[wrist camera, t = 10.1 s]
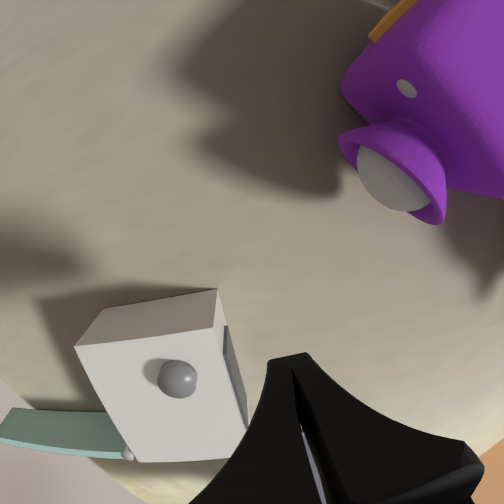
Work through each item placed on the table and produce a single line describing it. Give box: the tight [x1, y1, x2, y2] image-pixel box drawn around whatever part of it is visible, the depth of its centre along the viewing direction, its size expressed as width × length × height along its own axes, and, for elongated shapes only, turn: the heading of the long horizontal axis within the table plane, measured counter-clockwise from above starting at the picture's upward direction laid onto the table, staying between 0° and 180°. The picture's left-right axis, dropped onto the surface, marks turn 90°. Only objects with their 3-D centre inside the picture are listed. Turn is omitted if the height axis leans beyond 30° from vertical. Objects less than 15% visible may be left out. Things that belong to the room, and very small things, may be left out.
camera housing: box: [74, 289, 250, 462], centre depth 19 cm, size 11×8×6 cm
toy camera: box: [338, 0, 504, 225], centre depth 13 cm, size 11×14×10 cm
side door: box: [0, 408, 135, 461], centre depth 20 cm, size 15×1×5 cm, turn 100°
